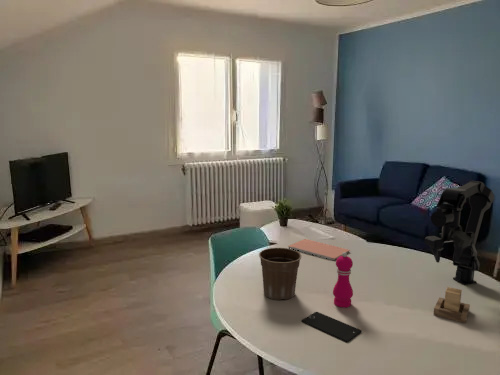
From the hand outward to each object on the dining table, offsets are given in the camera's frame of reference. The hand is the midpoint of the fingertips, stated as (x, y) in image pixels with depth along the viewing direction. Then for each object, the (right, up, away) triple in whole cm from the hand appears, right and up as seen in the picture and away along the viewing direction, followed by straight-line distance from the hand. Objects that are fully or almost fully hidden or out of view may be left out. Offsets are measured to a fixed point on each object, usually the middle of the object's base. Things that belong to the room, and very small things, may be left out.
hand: (447, 261), depth 155 cm
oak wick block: (-5, -16, -14) cm, 22 cm away
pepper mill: (-42, -15, -6) cm, 45 cm away
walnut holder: (-5, -16, -14) cm, 22 cm away
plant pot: (-65, -13, +2) cm, 66 cm away
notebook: (-42, -5, +50) cm, 65 cm away
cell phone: (-50, -18, -22) cm, 57 cm away
